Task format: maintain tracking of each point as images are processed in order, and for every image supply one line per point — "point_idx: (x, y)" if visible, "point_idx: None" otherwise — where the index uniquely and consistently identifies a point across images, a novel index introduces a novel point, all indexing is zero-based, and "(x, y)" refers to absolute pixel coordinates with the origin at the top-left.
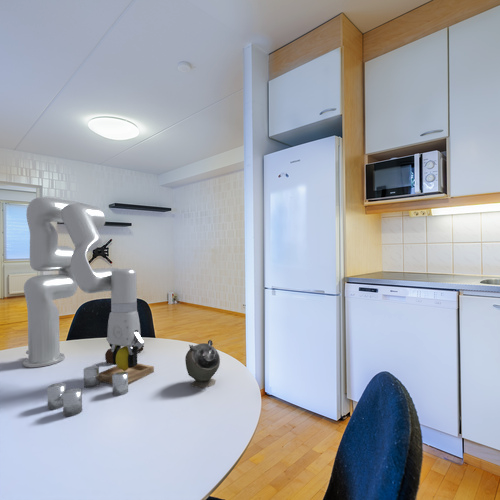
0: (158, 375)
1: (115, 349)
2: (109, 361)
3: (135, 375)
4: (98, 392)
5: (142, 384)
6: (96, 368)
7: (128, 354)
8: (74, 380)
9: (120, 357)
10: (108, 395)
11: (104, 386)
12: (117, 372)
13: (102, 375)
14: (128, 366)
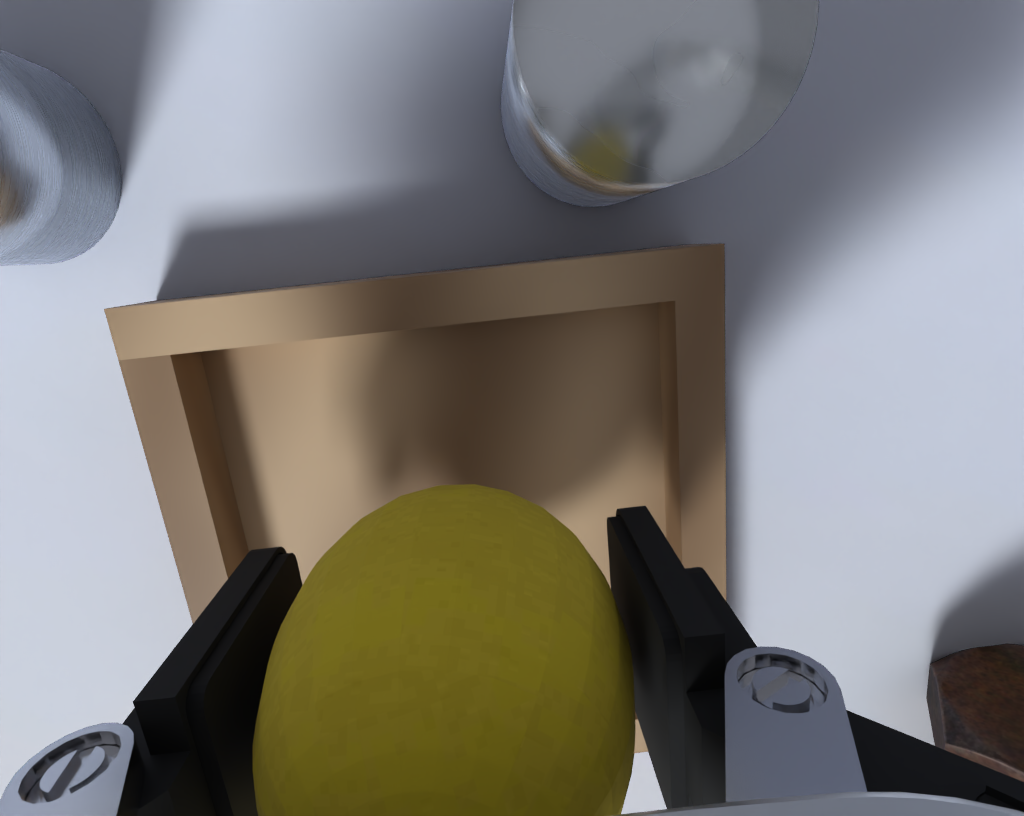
0: (127, 707)
1: (724, 736)
2: (1020, 666)
3: (164, 512)
4: (277, 2)
5: (31, 462)
6: (546, 75)
7: (258, 736)
8: (973, 84)
9: (364, 577)
10: (59, 13)
11: (396, 176)
12: (605, 508)
13: (584, 266)
14: (267, 553)
